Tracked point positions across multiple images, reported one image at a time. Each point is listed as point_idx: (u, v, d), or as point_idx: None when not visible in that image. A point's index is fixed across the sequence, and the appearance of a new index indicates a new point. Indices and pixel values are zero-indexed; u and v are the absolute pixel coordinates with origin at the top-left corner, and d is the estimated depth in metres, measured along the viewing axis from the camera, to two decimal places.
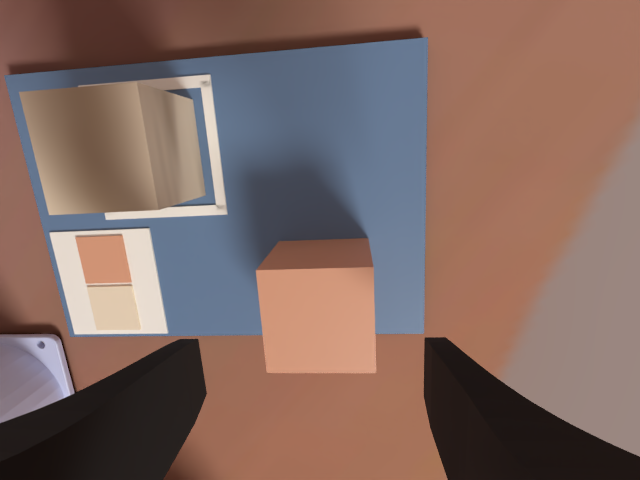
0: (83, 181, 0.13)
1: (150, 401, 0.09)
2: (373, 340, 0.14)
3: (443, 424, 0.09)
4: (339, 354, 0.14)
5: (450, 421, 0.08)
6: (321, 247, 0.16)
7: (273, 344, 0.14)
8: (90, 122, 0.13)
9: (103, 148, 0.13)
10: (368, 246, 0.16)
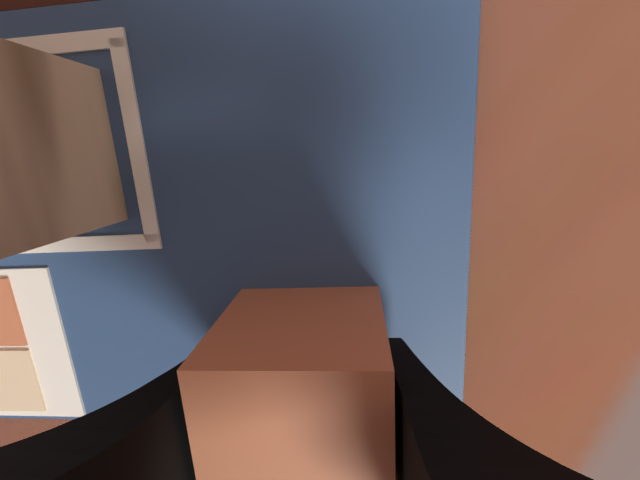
0: None
1: None
2: None
3: None
4: None
5: None
6: (304, 308, 0.10)
7: None
8: None
9: None
10: (380, 307, 0.10)
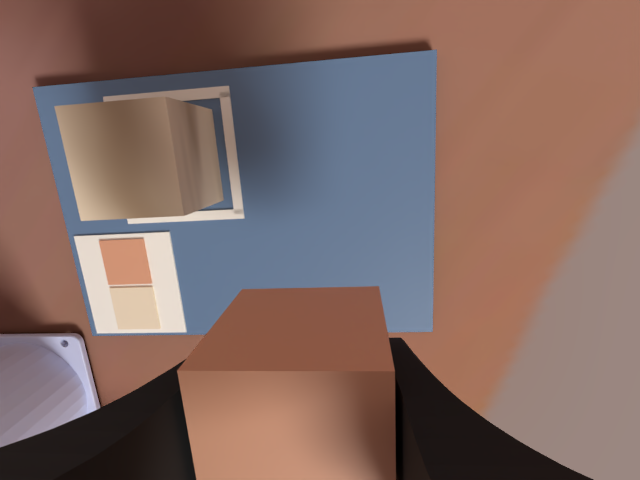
0: (113, 189, 0.14)
1: None
2: None
3: None
4: None
5: None
6: (304, 308, 0.10)
7: None
8: (121, 134, 0.14)
9: (132, 158, 0.14)
10: (380, 307, 0.10)
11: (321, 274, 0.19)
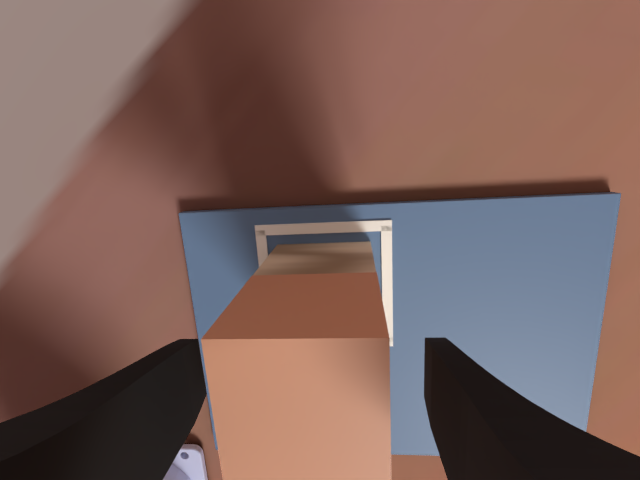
0: None
1: (150, 401, 0.09)
2: (387, 447, 0.09)
3: (443, 424, 0.09)
4: (334, 465, 0.09)
5: (450, 421, 0.08)
6: (309, 290, 0.11)
7: (232, 448, 0.09)
8: None
9: None
10: (378, 289, 0.11)
11: None
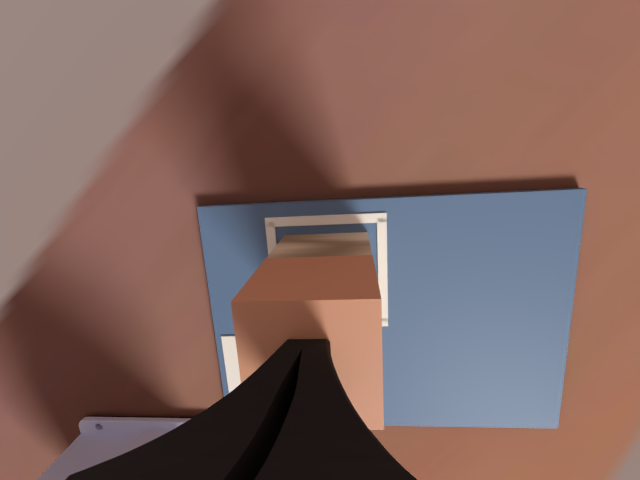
0: None
1: (288, 403, 0.08)
2: (380, 390, 0.11)
3: None
4: None
5: None
6: (316, 268, 0.13)
7: None
8: None
9: None
10: (373, 267, 0.13)
11: (456, 376, 0.21)
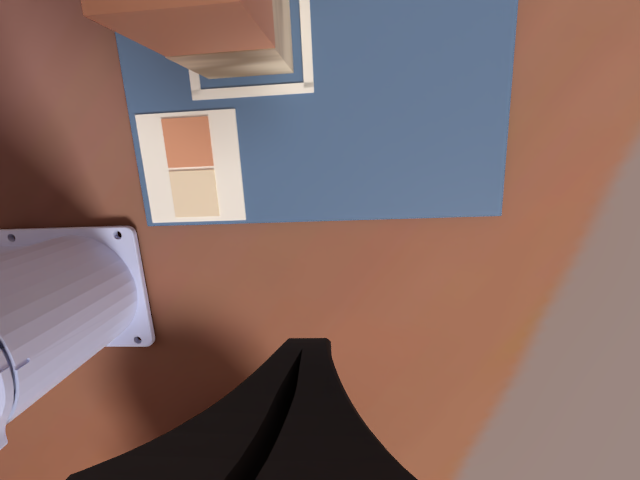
0: None
1: (289, 403, 0.08)
2: None
3: None
4: None
5: None
6: None
7: None
8: None
9: None
10: None
11: (390, 154, 0.19)
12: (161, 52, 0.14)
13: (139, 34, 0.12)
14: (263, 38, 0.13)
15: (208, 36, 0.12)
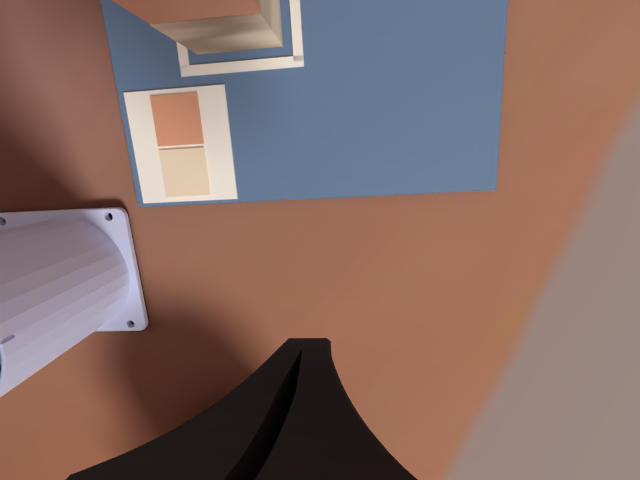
0: None
1: (289, 403, 0.08)
2: None
3: None
4: None
5: None
6: None
7: None
8: None
9: None
10: None
11: (382, 128, 0.18)
12: (145, 18, 0.13)
13: None
14: None
15: None
